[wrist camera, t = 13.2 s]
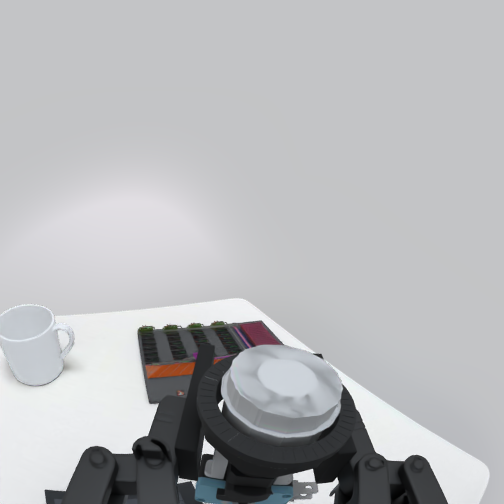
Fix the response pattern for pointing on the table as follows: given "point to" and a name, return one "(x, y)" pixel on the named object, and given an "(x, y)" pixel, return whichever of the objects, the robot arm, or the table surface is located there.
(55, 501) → the docking pad
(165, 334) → the circuit board
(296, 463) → the push button
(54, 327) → the mug
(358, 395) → the table surface
